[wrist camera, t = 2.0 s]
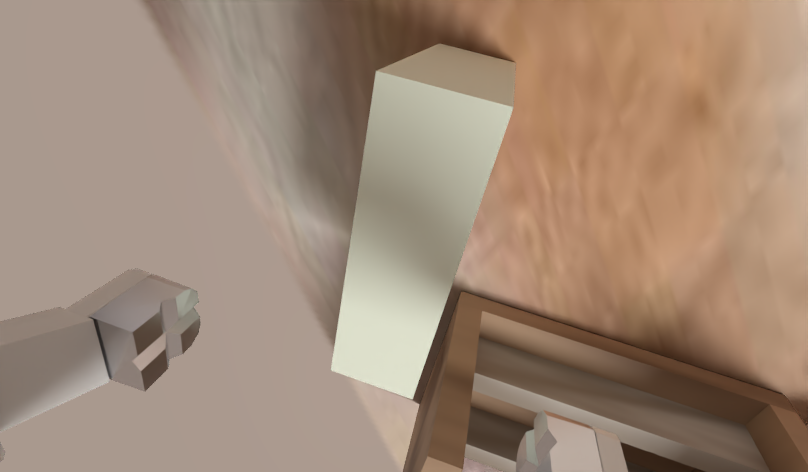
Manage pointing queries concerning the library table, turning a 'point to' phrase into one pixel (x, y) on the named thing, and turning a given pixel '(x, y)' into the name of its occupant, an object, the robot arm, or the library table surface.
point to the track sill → (590, 400)
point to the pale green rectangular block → (417, 206)
